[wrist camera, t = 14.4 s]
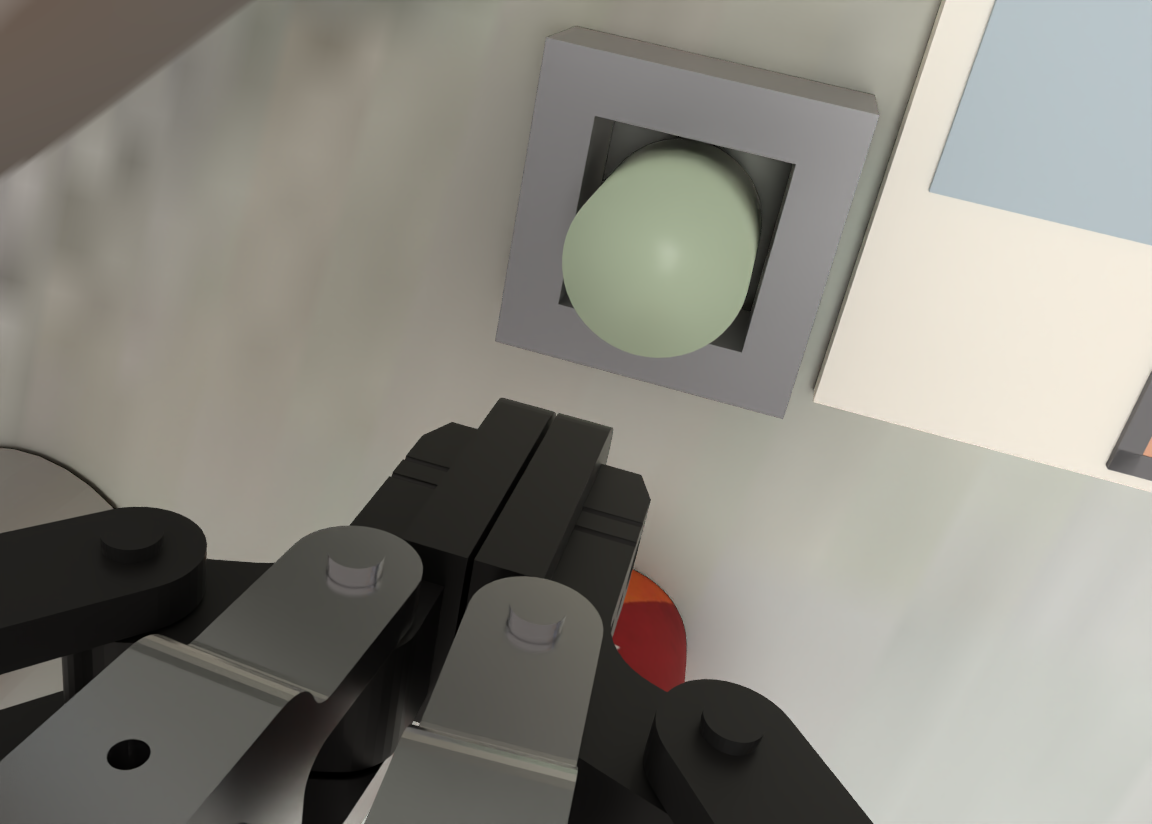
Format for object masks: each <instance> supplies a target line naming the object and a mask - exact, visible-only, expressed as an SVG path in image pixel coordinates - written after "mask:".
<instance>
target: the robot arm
mask: <svg viewBox="0 0 1152 824" xmlns="http://www.w3.org/2000/svg"><path fill="white" fill-rule="evenodd" d="M612 434H613V428H611V427H608V426H604V425H600V424H597V423H593V422H590V421H586V420H582V419H579V418H575V417H572V416H568V415H564V414H561V413H559V414H558V415H557V416H556V413H555V412H553V411H549V410H545V409H542V408H538V407H535V406H531V405H527V404H524V403H520V402H517V401H513V400H509V399H506V398H500V399H499V400H498V401H497V403H496V404H495V406H494V407H493V408H492V410H491V411H490V413H489V414H488V415H487V417H486V418H485V420H484V421H483V422H482V424H481V425H480V427H479V428H478V429H475V428H471V427H468V426H464V425H461V424H457V423H453V422H451V423H449V424H447V425H445V426H442V427H440V428H438V429H436V430H434V431H431V432H429V433H427V434H425V435H423V436H422V437H421V438H420V439H419V440H418V442H417V443H416V444H415V445H414V447H413V448H412V449H411V450H410V452H409V453H408V454H407V455H406V459H405V460H402V461H401V463H400V464H399V465H398V466H397V468H396V469H395V470H394V471H393V474H392V477H390V476H389V477H388V479H387V480H386V481H385V482H384V484H383V485H382V486H381V487H380V489H379V490H378V491H377V492H376V494H375V495H374V496H373V497H372V498H371V500H370V501H369V502H368V503H367V505H366V506H365V507H364V508H363V510H362V511H361V512H360V513H359V514H358V516H357V517H356V518H355V519H354V521H353V522H352V523H351V524H350V526H337V527H330V528H326V529H321V530H318V531H316V532H313V533H310V534H309V535H307V536H305V537H303V538H302V539H300V540H299V541H298V542H296V543H295V544H294V545H293V546H292V547H291V548H290V549H289V550H288V551H287V552H286V553H285V554H284V555H283V556H282V557H281V558H279V559H278V560H277V561H276V562H275V563H252V562H239V561H225V560H212V559H206V556H207V542H206V537H205V535H204V533H203V531H202V530H201V529H200V528H199V526H198V525H197V524H195V523H194V522H193V521H191V520H190V519H188V518H186V517H184V516H182V515H180V514H178V513H175V512H172V511H168V510H163V509H159V508H150V507H126V508H118V509H113V508H112V507H111V506H110V505H109V504H108V503H107V502H106V501H105V500H104V499H103V498H102V497H101V496H100V495H99V494H98V493H97V492H96V491H95V490H93V489H92V488H91V487H90V486H89V485H88V484H86V483H85V482H83V481H82V480H80V479H79V478H78V477H76V476H75V475H73V474H72V473H70V472H69V471H68V470H66V469H64V468H62V467H60V466H58V465H56V464H54V463H52V462H50V461H48V460H46V459H44V458H42V457H39V456H36V455H32V454H29V453H25V452H22V451H19V450H15V449H6V448H0V824H361V823H362V822H363V820H364V819H365V817H366V816H367V814H368V812H369V814H368V816H367V818H366V821H365V823H364V824H873V823H872V821H871V820H870V819H869V818H868V816H867V815H866V814H865V813H864V811H863V810H862V809H861V807H860V806H859V805H858V804H857V802H856V801H855V800H854V799H853V797H852V796H851V795H850V794H849V792H848V791H847V790H846V789H845V787H844V786H843V785H842V784H841V782H840V781H839V780H838V779H837V777H836V776H835V775H834V774H833V772H832V771H831V770H830V769H829V767H828V766H827V765H826V764H825V762H824V761H823V760H822V759H821V757H820V756H819V755H818V754H817V752H816V751H815V750H814V749H813V747H812V746H811V745H810V744H809V742H808V741H807V740H806V739H805V737H804V736H803V735H802V734H801V732H800V731H799V730H798V729H797V727H796V726H795V725H794V724H793V722H792V721H791V720H790V719H789V717H788V716H787V715H786V714H785V713H784V712H783V711H782V710H781V709H780V708H779V707H777V706H776V705H775V704H774V703H773V702H771V701H770V700H768V699H767V698H765V697H764V696H762V695H761V694H759V693H757V692H755V691H753V690H751V689H749V688H746V687H744V686H741V685H738V684H735V683H731V682H727V681H721V680H712V679H701V680H692V681H688V682H685V683H682V684H679V685H677V686H675V687H673V688H672V689H671V690H669V691H668V692H666V691H664V690H663V689H661V688H659V687H657V686H656V685H654V684H652V683H651V682H649V681H648V680H646V679H645V678H643V677H642V676H640V675H639V674H638V673H637V672H636V671H634V670H633V669H632V668H631V667H630V666H629V665H628V664H627V663H626V662H625V660H624V659H623V658H622V656H621V655H620V654H619V652H618V651H617V648H616V646H615V644H614V642H613V638H612V637H613V634H614V631H615V628H616V625H617V621H618V618H619V615H620V612H621V609H622V606H623V603H624V600H625V596H626V593H627V589H628V585H629V581H630V577H631V574H632V570H633V566H634V562H635V558H636V554H637V551H638V547H639V543H640V539H641V535H642V531H643V527H644V524H645V520H646V516H647V512H648V508H649V504H650V501H651V499H650V497H649V494H648V491H647V489H646V486H645V484H644V481H643V478H642V476H641V475H639V474H636V473H632V472H629V471H625V470H622V469H618V468H614V467H611V466H607V465H606V462H607V458H608V454H609V449H610V445H611V440H612ZM413 721H416V722H419V723H420V725H419V726H416V725H412V723H413Z"/></svg>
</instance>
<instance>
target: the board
mask: <svg viewBox="0 0 1152 824" xmlns="http://www.w3.org/2000/svg"><path fill="white" fill-rule="evenodd" d="M813 402H815V403H819V404H823V405H826V406H830V407H834V408H838V409H841V410H845V411H849V412H853V413H856V414H860V415H864V416H867V417H871V418H875V419H879V420H882V421H886V422H890V423H894V424H897V425H901V426H905V427H909V428H912V429H916V430H920V431H924V432H927V433H931V434H935V435H939V436H942V437H946V438H950V439H954V440H957V441H961V442H965V443H969V444H972V445H976V446H980V447H984V448H987V449H991V450H995V451H999V452H1002V453H1006V454H1010V455H1014V456H1017V457H1021V458H1025V459H1029V460H1032V461H1036V462H1040V463H1044V464H1047V465H1051V466H1055V467H1059V468H1062V469H1066V470H1070V471H1074V472H1077V473H1081V474H1085V475H1089V476H1092V477H1096V478H1100V479H1103V480H1107V481H1111V482H1115V483H1118V484H1122V485H1126V486H1130V487H1133V488H1137V489H1141V490H1145V491H1148V492H1152V0H942V1H941V4H940V7H939V11H938V14H937V17H936V20H935V23H934V26H933V29H932V32H931V35H930V38H929V41H928V44H927V47H926V50H925V53H924V56H923V59H922V62H921V65H920V68H919V71H918V74H917V78H916V81H915V84H914V87H913V90H912V93H911V96H910V99H909V102H908V105H907V108H906V111H905V114H904V117H903V120H902V123H901V126H900V129H899V132H898V135H897V138H896V141H895V144H894V148H893V151H892V154H891V157H890V160H889V163H888V166H887V169H886V172H885V175H884V178H883V181H882V184H881V187H880V190H879V193H878V196H877V199H876V202H875V205H874V208H873V211H872V215H871V218H870V221H869V224H868V227H867V230H866V233H865V236H864V239H863V242H862V245H861V248H860V251H859V254H858V257H857V260H856V263H855V266H854V269H853V272H852V275H851V278H850V282H849V285H848V288H847V291H846V294H845V297H844V300H843V303H842V306H841V309H840V312H839V315H838V318H837V321H836V324H835V327H834V330H833V333H832V336H831V339H830V342H829V345H828V349H827V352H826V355H825V358H824V361H823V364H822V367H821V370H820V373H819V376H818V379H817V382H816V385H815V388H814V398H813Z"/></svg>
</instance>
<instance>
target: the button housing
mask: <svg viewBox="0 0 1152 824" xmlns="http://www.w3.org/2000/svg"><path fill="white" fill-rule="evenodd" d="M879 116H880V115H879V111H878V107H877V103H876V99H875V95H872V94H868V93H863V92H859V91H855V90H850V89H846V88H842V87H837V86H833V85H829V84H824V83H820V82H816V81H811V80H807V79H803V78H799V77H794V76H790V75H786V74H781V73H777V72H773V71H768V70H764V69H760V68H755V67H751V66H747V65H742V64H738V63H734V62H729V61H725V60H721V59H716V58H712V57H708V56H703V55H699V54H695V53H690V52H686V51H682V50H677V49H673V48H669V47H664V46H660V45H656V44H651V43H647V42H643V41H638V40H634V39H630V38H625V37H621V36H617V35H613V34H608V33H604V32H600V31H595V30H591V29H587V28H582V27H578V26H575V27H572V28H570V29H567V30H564V31H562V32H559V33H556V34H554V35H551V36H549V37H546V41H545V47H544V53H543V59H542V65H541V71H540V77H539V83H538V89H537V95H536V101H535V107H534V113H533V119H532V125H531V131H530V137H529V143H528V149H527V155H526V160H525V166H524V172H523V178H522V184H521V190H520V196H519V202H518V208H517V214H516V220H515V226H514V232H513V238H512V244H511V250H510V256H509V262H508V268H507V274H506V280H505V286H504V292H503V298H502V304H501V310H500V316H499V322H498V328H497V334H496V340H495V341H496V342H500V343H503V344H507V345H511V346H514V347H518V348H522V349H525V350H529V351H533V352H537V353H540V354H544V355H548V356H551V357H555V358H559V359H563V360H566V361H570V362H574V363H577V364H581V365H585V366H588V367H592V368H596V369H600V370H603V371H607V372H611V373H614V374H618V375H622V376H626V377H629V378H633V379H637V380H640V381H644V382H648V383H652V384H655V385H659V386H663V387H666V388H670V389H674V390H677V391H681V392H685V393H689V394H692V395H696V396H700V397H703V398H707V399H711V400H715V401H718V402H722V403H726V404H729V405H733V406H737V407H740V408H744V409H748V410H752V411H755V412H759V413H763V414H766V415H770V416H774V417H778V418H781V419H783V418H784V415H785V411H786V408H787V405H788V402H789V399H790V396H791V393H792V389H793V386H794V383H795V380H796V377H797V374H798V371H799V367H800V364H801V361H802V358H803V355H804V352H805V349H806V345H807V342H808V339H809V336H810V333H811V330H812V327H813V323H814V320H815V317H816V314H817V311H818V308H819V304H820V301H821V298H822V295H823V292H824V289H825V286H826V282H827V279H828V276H829V273H830V270H831V267H832V264H833V260H834V257H835V254H836V251H837V248H838V245H839V242H840V238H841V235H842V232H843V229H844V226H845V223H846V220H847V216H848V213H849V210H850V207H851V204H852V201H853V197H854V194H855V191H856V188H857V185H858V182H859V179H860V175H861V172H862V169H863V166H864V163H865V160H866V157H867V153H868V150H869V147H870V144H871V141H872V138H873V135H874V131H875V128H876V125H877V122H878V119H879ZM614 121H618V122H622V123H626V124H631V125H635V126H639V127H643V128H647V129H651V130H656V131H660V132H664V133H668V134H672V135H676V136H680V137H685V138H689V139H693V140H697V141H701V142H705V143H709V144H714V145H718V146H722V147H726V148H730V149H734V150H739V151H743V152H747V153H751V154H755V155H759V156H763V157H768V158H772V159H776V160H780V161H784V162H788V163H793V166H792V169H791V173H790V176H789V180H788V183H787V187H786V190H785V194H784V197H783V201H782V204H781V208H780V211H779V215H778V218H777V222H776V225H775V229H774V232H773V236H772V239H771V243H770V246H769V250H768V253H767V257H766V260H765V264H764V267H763V271H762V274H761V278H760V281H759V285H758V288H757V292H756V295H755V299H754V302H753V306H752V309H751V312H750V311H746V310H742V309H740V311H739V313H738V315H737V316H736V318H735V319H734V321H733V322H732V324H731V325H730V326H729V327H728V328H727V329H726V330H725V331H724V332H723V333H722V334H721V335H720V336H719V337H718V338H716V339H715V340H714V341H712V342H711V343H709V344H708V345H706V346H704V347H702V348H700V349H698V350H696V351H694V352H691V353H687V354H684V355H680V356H675V357H666V358H653V357H644V356H639V355H634V354H631V353H628V352H625V351H622V350H620V349H618V348H616V347H614V346H612V345H610V344H609V343H607V342H605V341H604V340H602V339H601V338H600V337H599V336H597V335H596V334H595V333H594V332H593V331H592V330H591V329H590V328H589V327H588V326H587V325H586V324H585V323H584V322H583V320H582V319H581V318H580V317H579V315H578V314H577V312H576V310H575V309H574V307H573V305H572V303H571V301H570V299H569V296H568V294H567V291H566V287H565V284H564V279H563V272H562V255H563V246H564V242H565V239H566V235H567V232H568V230H569V227H570V225H571V223H572V221H573V220H574V218H575V216H576V214H577V213H578V212H579V210H580V209H581V208H582V206H583V205H584V204H585V203H586V202H587V201H588V199H589V198H590V197H591V196H592V195H593V194H594V193H595V192H596V191H597V189H598V188H599V187H600V186H601V184H602V179H603V174H604V169H605V164H606V159H607V154H608V149H609V144H610V139H611V134H612V130H613V125H614Z"/></svg>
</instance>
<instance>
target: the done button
mask: <svg viewBox="0 0 1152 824" xmlns="http://www.w3.org/2000/svg"><path fill="white" fill-rule="evenodd" d="M761 229H762V211H761V205H760V200H759V197H758V194H757V191H756V189H755V187H754V185H753V183H752V181H751V179H750V177H749V176H748V175H747V173H746V172H745V170H744V169H743V168H742V167H741V166H740V165H739V164H738V162H736V161H735V160H734V159H733V158H732V157H731V156H729V155H728V154H726V153H725V152H723V151H722V150H720V149H718V148H716V147H714V146H712V145H710V144H707V143H704V142H700V141H696V140H690V139H669V140H663V141H659V142H655V143H652V144H650V145H647V146H645V147H643V148H641V149H639V150H637V151H636V152H634V153H633V154H631V155H630V156H629V157H627V158H626V159H625V160H624V161H623V162H622V163H621V164H620V165H619V166H618V167H617V168H616V170H615V171H614V172H613V173H612V174H611V175H610V176H609V177H608V178H607V180H606V181H605V182H604V183H603V184H602V185H601V186H600V187H599V188H598V189H597V191H596V192H595V193H594V194H593V195H592V196H591V197H590V198H589V199H588V201H587V202H586V203H585V204H584V205H583V206H582V208H581V209H580V210H579V212H578V213H577V214H576V216H575V218H574V220H573V221H572V223H571V225H570V227H569V230H568V232H567V235H566V239H565V242H564V246H563V255H562V272H563V279H564V284H565V287H566V291H567V294H568V296H569V299H570V301H571V303H572V305H573V307H574V309H575V310H576V312H577V314H578V315H579V317H580V318H581V319H582V320H583V322H584V323H585V324H586V325H587V326H588V327H589V328H590V329H591V330H592V331H593V332H594V333H595V334H596V335H597V336H599V337H600V338H601V339H602V340H604V341H605V342H607V343H609V344H610V345H612V346H614V347H616V348H618V349H620V350H622V351H625V352H628V353H631V354H634V355H639V356H644V357H653V358H666V357H675V356H680V355H684V354H687V353H691V352H694V351H696V350H698V349H700V348H702V347H704V346H706V345H708V344H709V343H711V342H712V341H714V340H715V339H716V338H718V337H719V336H720V335H721V334H722V333H723V332H724V331H725V330H726V329H727V328H728V327H729V326H730V325H731V324H732V322H733V321H734V319H735V318H736V316H737V315H738V313H739V311H740V309H741V307H742V305H743V303H744V300H745V298H746V295H747V291H748V287H749V283H750V279H751V274H752V270H753V266H754V262H755V257H756V253H757V249H758V245H759V240H760V236H761Z"/></svg>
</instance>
